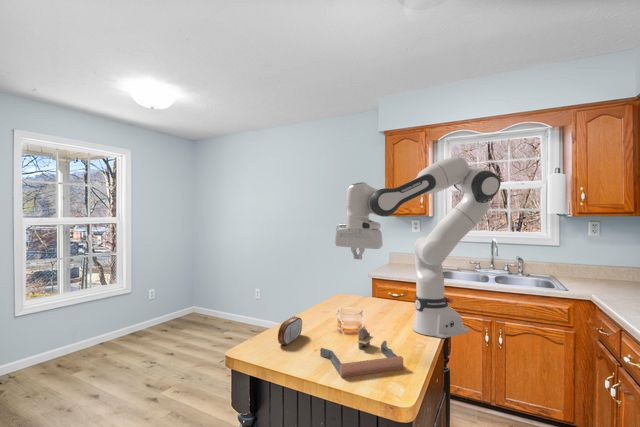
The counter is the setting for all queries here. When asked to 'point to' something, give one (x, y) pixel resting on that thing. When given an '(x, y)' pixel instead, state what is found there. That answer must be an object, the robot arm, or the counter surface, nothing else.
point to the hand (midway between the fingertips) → (357, 259)
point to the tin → (290, 330)
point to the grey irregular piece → (363, 337)
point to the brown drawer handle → (365, 363)
